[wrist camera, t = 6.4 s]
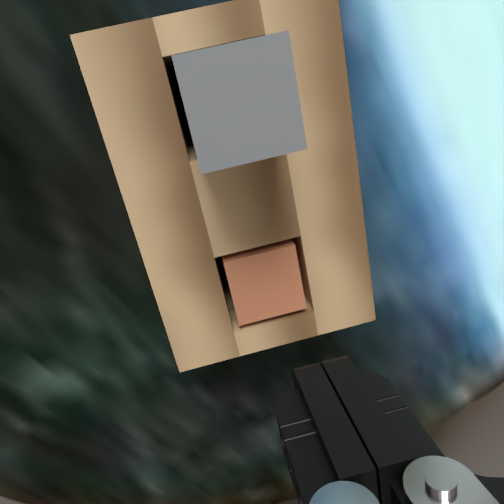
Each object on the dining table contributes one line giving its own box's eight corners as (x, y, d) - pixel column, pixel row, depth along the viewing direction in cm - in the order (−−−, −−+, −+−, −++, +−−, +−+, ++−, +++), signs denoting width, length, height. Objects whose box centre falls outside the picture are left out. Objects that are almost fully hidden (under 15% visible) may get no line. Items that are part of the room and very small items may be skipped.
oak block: (179, 296, 35) (179, 372, 26) (105, 52, 28) (69, 34, 19) (324, 259, 36) (375, 319, 27) (286, 13, 29) (336, -22, 20)
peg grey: (194, 146, 23) (201, 174, 16) (173, 66, 22) (171, 55, 15) (267, 129, 24) (307, 149, 16) (252, 49, 22) (288, 30, 15)
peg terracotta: (225, 271, 33) (239, 325, 25) (212, 221, 31) (223, 263, 24) (277, 258, 33) (306, 308, 26) (267, 207, 31) (295, 244, 24)
